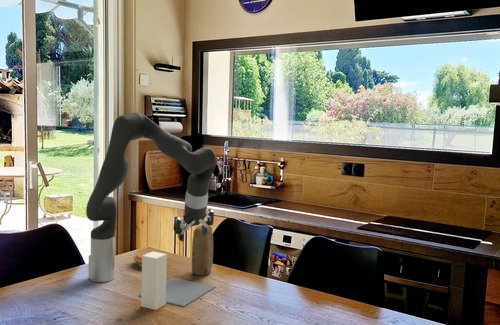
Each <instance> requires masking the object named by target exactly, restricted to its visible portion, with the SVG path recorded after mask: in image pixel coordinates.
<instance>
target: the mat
mask: <svg viewBox="0 0 500 325" xmlns="http://www.w3.org/2000/svg"><path fill="white" fill-rule="evenodd" d="M215 288H217V286H215V285H210V284H205V283H200V282H196V281H190V280H186V279H182V278H178V277H172V278H169V279H168V280H166V304H170V305H176V306H178V307H183V308H185V307H186V306H188V305H189V304H191V303H193V302H194V301H196V300H198V299H200V298H201V297H203V296H204V295H206V294H208V293H209V292H211V291H212V290H214V289H215ZM137 296H138V297H140V298H141V297H142V292H141V293H139V294H138V295H137Z"/></svg>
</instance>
